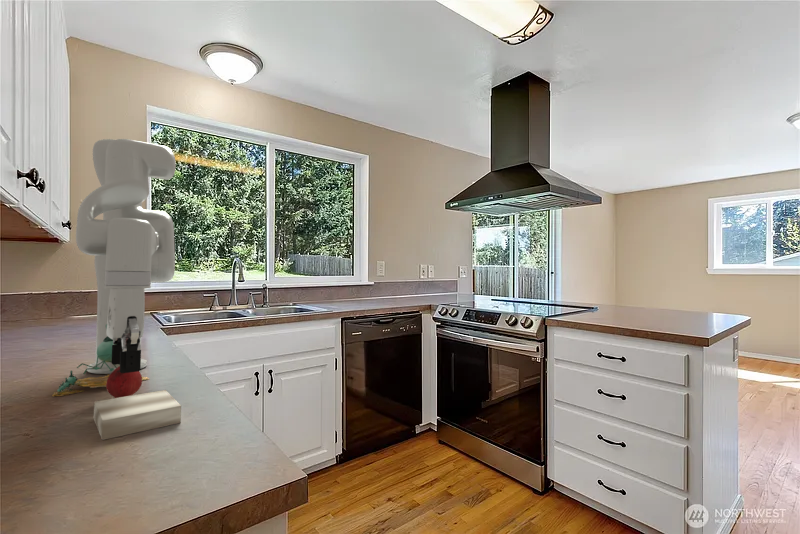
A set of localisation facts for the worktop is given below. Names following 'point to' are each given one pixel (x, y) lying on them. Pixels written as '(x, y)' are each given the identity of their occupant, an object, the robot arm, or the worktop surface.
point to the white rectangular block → (135, 413)
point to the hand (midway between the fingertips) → (125, 367)
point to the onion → (123, 383)
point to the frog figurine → (104, 355)
